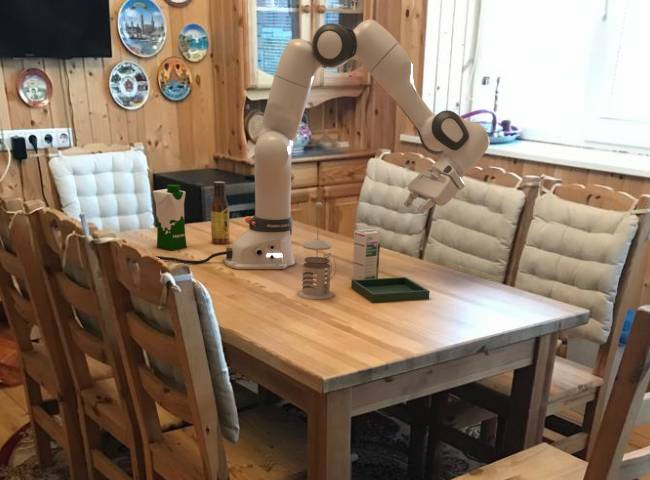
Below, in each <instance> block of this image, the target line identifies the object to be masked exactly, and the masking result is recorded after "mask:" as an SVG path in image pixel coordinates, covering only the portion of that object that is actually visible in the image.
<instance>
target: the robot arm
mask: <svg viewBox="0 0 650 480" xmlns="http://www.w3.org/2000/svg"><path fill="white" fill-rule="evenodd" d="M350 60H355V61H357V62H358V63H360V64H361V65H362V66H363V67H364V69H365V70H366V71H367V72H368V73H369V74H370V75H371V77H372V78H373V79H374V80H375V81H376V83H378V84H379V86H380V87H382V88H383V90H385V92H386V93H387V94H388V95H389V96H390V97H391V98H392V99H393V100H394V102H395V103H396V104H397V106H398V107H399V109H401V111H402V112H403V113H404V114H405V116H406V117H407V119H408V120H409V121H410V122H411V124H412V126H414V128H415V130H416V132H417V134H418V137H419V140H420V142H421V145H422V147H423V149H424V150H425V151H426V152H428V153H429V154H431V155H441V156H440V157H438V159H437V160H436V161H435V162H434V163H433V164H432V165H431V167H430V168H429V170H422V171H421V172H420V173H419V174H418V175H417V176H415V178H413V179H412V180H411V181H410V182H409V183H408V185H407V188H406V189H407V190H408V191H409V193H408V195H407V198H406V199H405V200H404V202H403V205H404V207H406V208H408V209H409V208H410V207H411V206H413V202H414V200H416V199H417V198H418V199H420V200H424V201H426V202H424V203H423V204H420V205H419V207H417V211H418V212H419V213H420V214H422V215H423V214H425V213H426V212H427V211H428V210H430V209H431V208H433V207H435V205H436V206H439V207H443V206H446V205H447V204H448V203H449V202H451V200H452V199H453V198H454V197H455V196H456V195H457V194H458V193H459V191H462V190H463V189H464V188H465V186H466V184H465V183H464V181H463V178H464V176H465V175H466V173H467V172H468V171H469V170H470V169H471V168H473V167H474V166H475V165H476V164H478V162H479V161H480V159H481V158H482V157H483V156H484V155H485V153H486V152H487V150H488V149H489V146H490V136H489V134H488V131H487V130H486V129H485V127H484V126H483V125H481V124H480V123H479V122H473V121H469V120H467V119H465V118H463V117H462V116H460V115H459V114H458V113H456V112H455V111H453V110H448V109H446V110H442V111H439V112H438V113H436V114H435V113H434V112H433V111H432V110H431V109H430V107H429V106H428V105H427V104H426V102H425V101H424V100H423V98H422V97H421V96H420V94H419V93H418V91H417V89H416V87H415V83H414V76H413V75H414V74H413V73H414V72H413V71H414V69H413V68H414V67H413V63H412V61H411V59H410V57H409V55H408V53H407V52H406V50H405V49H404V47H403V46H402V45H401V43H400V42H399V41H398V40H397V39H396V38H395V37H394V35H392V34H391V32H389V31H388V30H387V29H386V28H385V27H384V26H383V25H382V24H380V23H379V22H378V21H376V20H374V19H371V18H370V19H366V20H363V21H361V22H360V23H359V24H358V25H356V27H355V28H354V29H352V28H350V27H347V26H344V25H342V24H339V23H336V22H335V23H332V22H331V23H326V24H322V25H321V26H320V27H318V28H317V30H316V31H315V33H314V35H313V37H312V39H311V40H306V39H302V38H293V39H290V40H289V41H288V42H287V43H286V44H285V46H284V49H283V51H282V53H281V55H280V57H279V60H278V63H277V66H276V70H275V73H274V76H273V80H272V83H271V87H270V91H269V94H268V97H267V101H266V106H265V110H264V113H263V117H262V121H261V124H260V127H259V131H258V136H257V139H256V142H255V144H254V150H253V153H254V154H253V157H254V158H253V162H254V163H253V164H254V189H255V190H254V216H251V217H250V216H249V215H246V216H245V217H244V221H245V223H246V224H247V225H248V227H249V228H248V229H247V230H246V231H245V232H243V233H242V234H241V235H240V236H238V237H237V238H236V239H234V240H233V242H232V245H231V247H225V249H226V250H225V251H219V252H215V253H212V254H211V255H209V256H207V258H205V259H200V260H192V259H181V258H178V257H171V256H160V255H155V256H156V257H158V258H160V259H159V260H160V261H161V260H162V261H173V262H177V263H182V264H190V265H191V264H192V265H193V264H195V265H199V264H200V265H201V264H205V263H207V262H209V261H210V260H212V259H213V258H216V257H218V256H224V255H226V256H225V257H224V258H223V263H224V264H225V265H226V266H228V267H229V268H232V269H234V270H235V269H236V270H284V269H286V268H288V267H291V266H293V265H294V264H296V262H295V257H294V253H293V246H292V232H293V217H292V216H291V212H292V211H291V209H292V206H291V205H292V155H293V153H292V152H293V150H294V149H293V148H294V145H295V142H296V139H297V135H298V132H299V130H300V126H301V123H302V119H303V117H304V113H305V109H306V106H307V104H308V100H309V96H310V93H311V88H312V85H313V82H314V79H315V76H316V74H317V72H318V70H319V69H320V68H328V69H338V68H341V67H343V66H345V65H346V64H347V63H348V62H350Z"/></svg>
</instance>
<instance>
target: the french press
mask: <svg viewBox="0 0 650 480" xmlns="http://www.w3.org/2000/svg"><path fill="white" fill-rule="evenodd" d="M314 207H316V208H317V224H319V222H320V221H319V219H320V208H322V207H323V203H322V202H320V201H317V202H316V203H315V205H314ZM316 231H317V234H316V235H317V236H316V238H312V239H308V240H307V241H305V242H304V243H302V247H303V248H305V249H307V250H312V251H313V250H314V251H316V254H318V252H319V251H326V250H330V249H331V248H332V247H333V245H332V244H331V243H330V242H329V241H326V240H324V239H322V238H319V228H317V229H316ZM326 256H327V257H326ZM330 256H332V259H333V261H334V265H335V266H334V272H333V275H332V276H331V274H332V269H333V268H332V267H333V263H332V260H331V258H330ZM303 261H304V262H305V263H303V264H302V276H301V277H302V280H301V283H302V284H301V290H300V291H299V292H298V295H299V297H302V298H305V299H308V300H309V299H310V300H325V299H330V298H332V297H333V296H334V294H333V292H331V291H330V289H331V280H332V279H333V278H334V276H335V274H336V272H337V262H336V259H335V257H334V255H333V254H332V252H328V254H327V253H324V255H323V257H321V256H307V257H305V258H304V259H303ZM325 282H326V283H325Z"/></svg>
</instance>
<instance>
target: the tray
mask: <svg viewBox="0 0 650 480" xmlns="http://www.w3.org/2000/svg"><path fill="white" fill-rule="evenodd" d="M350 283H351V285H350V288H351V289H352V290H353V291H355V292H356V293H357V294H358V295H360V296H361V297H363V298H365V299H366V300H367V301H369V302H370V303H372V304H377V303H390V302H391V303H393V302H407V301H408V302H409V301H421V300H430V293H431V291H430V289H427V288H426V287H424V286H422V285H420V284H419V283H417V282H416V281H413V280H412V279H410V278H408V277H407V276H398V277H381V278H378V279H362V280H355V279H351V282H350Z"/></svg>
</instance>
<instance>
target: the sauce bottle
mask: <svg viewBox="0 0 650 480" xmlns="http://www.w3.org/2000/svg"><path fill="white" fill-rule="evenodd" d="M212 183H213V184H212V185H213V198H212V199H211V202H210V229H211V233H210V234H211V242H212V243H213V244H217V245H225V244H228V243H230V237H231V236H230V235H231V234H230V205H229V202H228V200H227V196H226V181H220V180H219V181H218V180H217V181H213V182H212Z"/></svg>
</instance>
